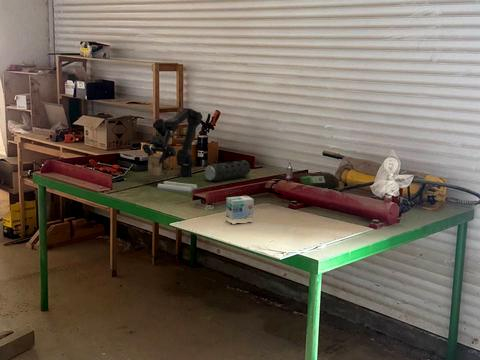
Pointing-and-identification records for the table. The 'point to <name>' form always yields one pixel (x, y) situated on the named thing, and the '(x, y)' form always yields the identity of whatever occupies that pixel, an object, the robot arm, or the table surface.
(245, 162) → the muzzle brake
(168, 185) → the track board
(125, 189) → the table surface
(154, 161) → the wooden block
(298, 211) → the table surface
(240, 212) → the light bulb box
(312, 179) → the green bottle
